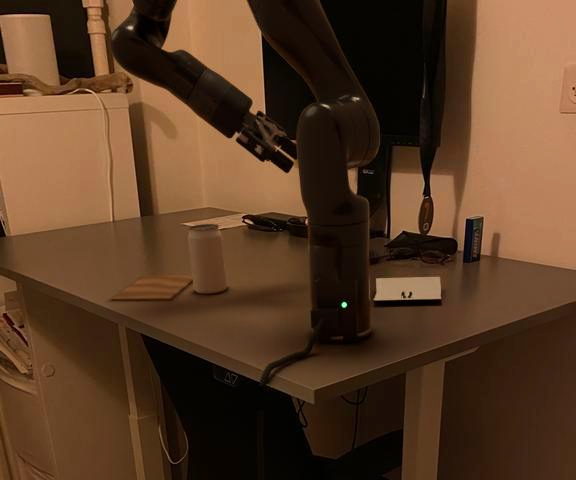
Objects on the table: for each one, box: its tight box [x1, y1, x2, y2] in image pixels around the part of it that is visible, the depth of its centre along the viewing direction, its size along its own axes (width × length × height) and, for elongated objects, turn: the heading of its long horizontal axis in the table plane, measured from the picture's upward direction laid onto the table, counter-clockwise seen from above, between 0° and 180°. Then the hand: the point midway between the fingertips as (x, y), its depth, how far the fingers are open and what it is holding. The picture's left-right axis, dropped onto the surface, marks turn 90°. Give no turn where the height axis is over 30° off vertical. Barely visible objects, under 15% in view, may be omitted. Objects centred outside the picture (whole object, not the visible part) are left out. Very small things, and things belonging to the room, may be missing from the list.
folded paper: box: [373, 276, 442, 301], centre depth 143 cm, size 12×12×2 cm
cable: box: [369, 248, 420, 264], centre depth 169 cm, size 14×28×2 cm, turn 126°
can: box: [187, 223, 228, 295], centre depth 153 cm, size 6×6×12 cm
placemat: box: [111, 274, 193, 302], centre depth 160 cm, size 18×12×1 cm, turn 169°
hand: (295, 161), depth 141 cm, fingers open, 8 cm apart
